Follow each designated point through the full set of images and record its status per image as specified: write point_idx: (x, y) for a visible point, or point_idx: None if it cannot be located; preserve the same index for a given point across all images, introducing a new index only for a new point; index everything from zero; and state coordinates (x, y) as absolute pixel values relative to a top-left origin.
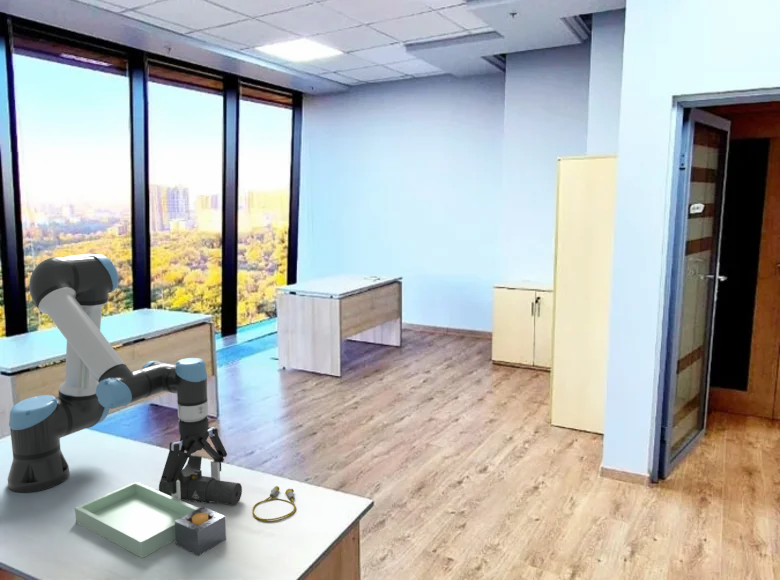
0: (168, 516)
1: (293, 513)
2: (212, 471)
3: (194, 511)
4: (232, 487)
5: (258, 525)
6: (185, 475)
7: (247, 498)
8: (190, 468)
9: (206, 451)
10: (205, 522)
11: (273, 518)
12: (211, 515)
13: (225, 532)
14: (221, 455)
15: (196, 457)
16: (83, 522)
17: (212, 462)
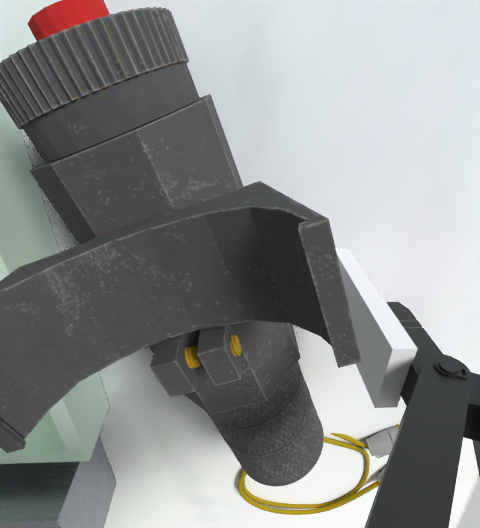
0: None
1: (316, 506)
2: (357, 305)
3: (11, 526)
4: (259, 479)
5: (219, 489)
6: (118, 334)
7: (325, 395)
8: (223, 272)
9: (376, 498)
10: None
11: (259, 507)
12: None
13: (108, 506)
14: (468, 432)
15: (328, 310)
16: None
17: (384, 361)
